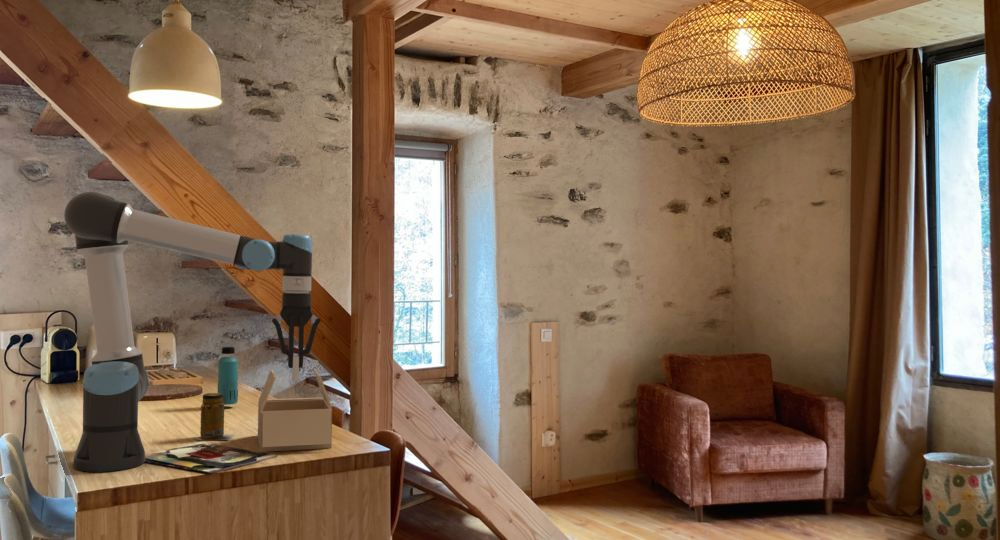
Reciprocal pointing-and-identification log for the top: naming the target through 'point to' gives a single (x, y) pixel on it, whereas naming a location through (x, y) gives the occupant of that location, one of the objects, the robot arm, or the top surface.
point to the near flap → (296, 427)
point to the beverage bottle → (228, 377)
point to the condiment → (212, 418)
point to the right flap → (322, 387)
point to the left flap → (266, 389)
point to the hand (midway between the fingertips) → (295, 379)
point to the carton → (290, 406)
